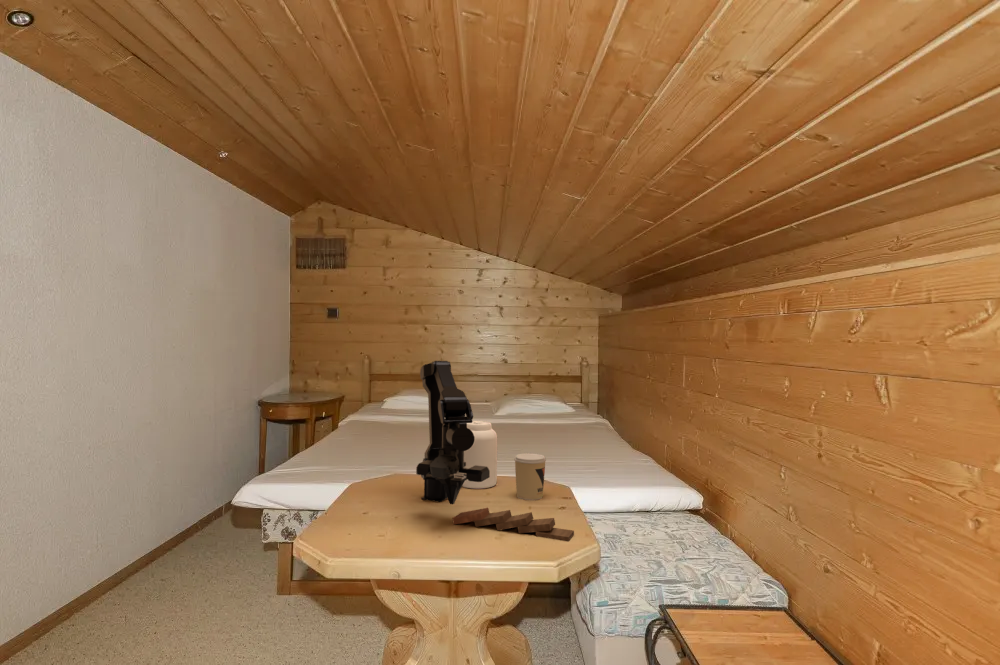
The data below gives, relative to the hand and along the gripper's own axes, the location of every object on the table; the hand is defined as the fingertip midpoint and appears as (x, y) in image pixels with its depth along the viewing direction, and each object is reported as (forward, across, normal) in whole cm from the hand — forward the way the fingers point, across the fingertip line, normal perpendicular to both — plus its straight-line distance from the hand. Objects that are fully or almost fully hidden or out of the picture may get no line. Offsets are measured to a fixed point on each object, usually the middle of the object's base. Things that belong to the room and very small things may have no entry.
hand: (452, 504), depth 147 cm
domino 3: (+3, +14, 0) cm, 14 cm away
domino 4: (+3, +19, 0) cm, 19 cm away
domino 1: (+3, +2, -1) cm, 4 cm away
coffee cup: (+4, +11, +29) cm, 31 cm away
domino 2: (+3, +8, 0) cm, 8 cm away
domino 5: (+4, +24, 0) cm, 24 cm away
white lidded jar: (+4, -9, +35) cm, 36 cm away
